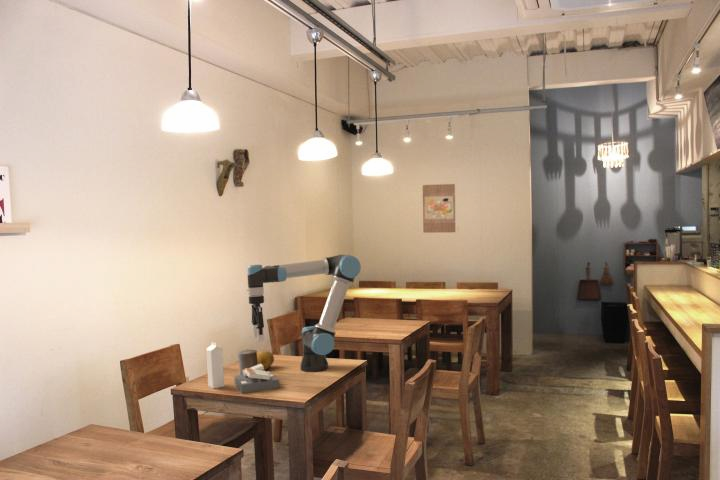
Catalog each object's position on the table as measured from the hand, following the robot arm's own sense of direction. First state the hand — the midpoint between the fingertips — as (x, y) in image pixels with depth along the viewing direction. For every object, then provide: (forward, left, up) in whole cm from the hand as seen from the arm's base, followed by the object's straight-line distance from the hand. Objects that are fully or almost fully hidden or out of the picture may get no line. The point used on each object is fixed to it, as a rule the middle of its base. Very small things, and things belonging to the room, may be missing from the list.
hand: (258, 339), depth 302 cm
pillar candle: (+4, -13, -22) cm, 26 cm away
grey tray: (+4, +6, -22) cm, 23 cm away
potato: (-8, -28, -22) cm, 36 cm away
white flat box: (+4, +12, -15) cm, 20 cm away
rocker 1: (+4, 0, -15) cm, 15 cm away
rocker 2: (+4, +6, -15) cm, 17 cm away
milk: (+22, -4, -22) cm, 31 cm away
